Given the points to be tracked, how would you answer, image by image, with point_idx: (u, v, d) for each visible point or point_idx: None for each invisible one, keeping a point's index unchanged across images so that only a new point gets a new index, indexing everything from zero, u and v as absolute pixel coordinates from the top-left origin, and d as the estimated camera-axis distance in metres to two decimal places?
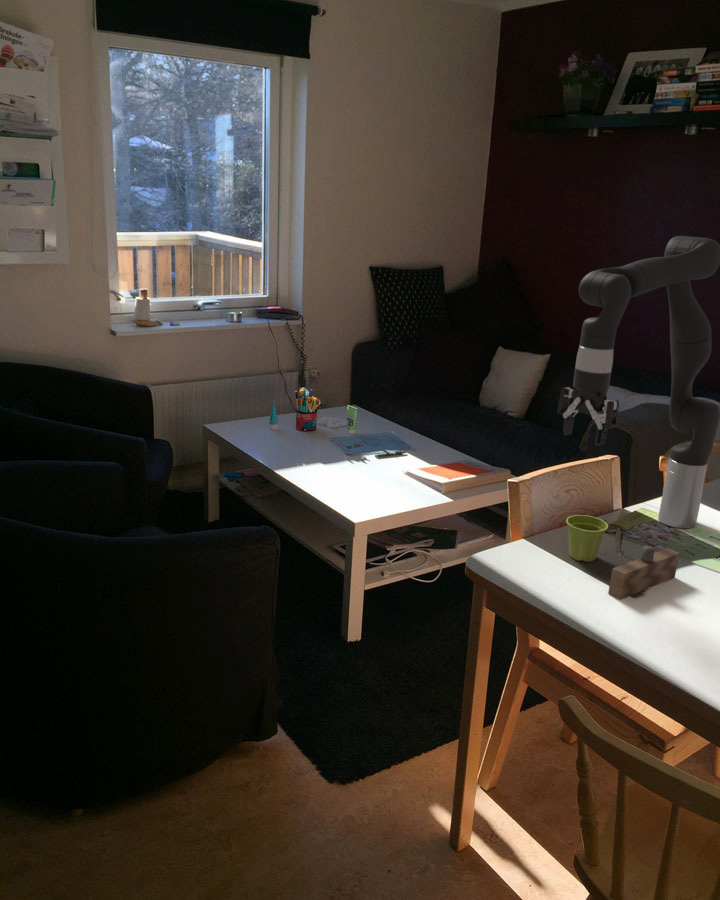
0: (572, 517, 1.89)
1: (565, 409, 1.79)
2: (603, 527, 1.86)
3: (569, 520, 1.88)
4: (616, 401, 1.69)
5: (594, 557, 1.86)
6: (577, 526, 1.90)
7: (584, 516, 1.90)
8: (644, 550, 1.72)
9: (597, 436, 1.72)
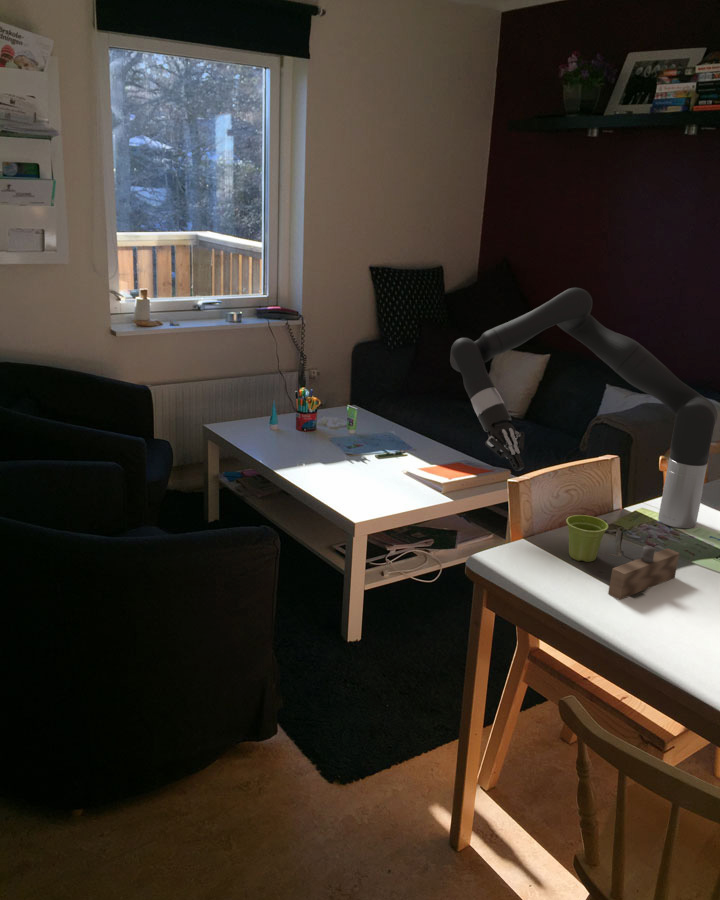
0: (572, 517, 1.89)
1: None
2: (603, 527, 1.86)
3: (569, 520, 1.88)
4: None
5: (594, 557, 1.86)
6: (577, 526, 1.90)
7: (584, 516, 1.90)
8: (644, 550, 1.72)
9: (520, 459, 2.00)
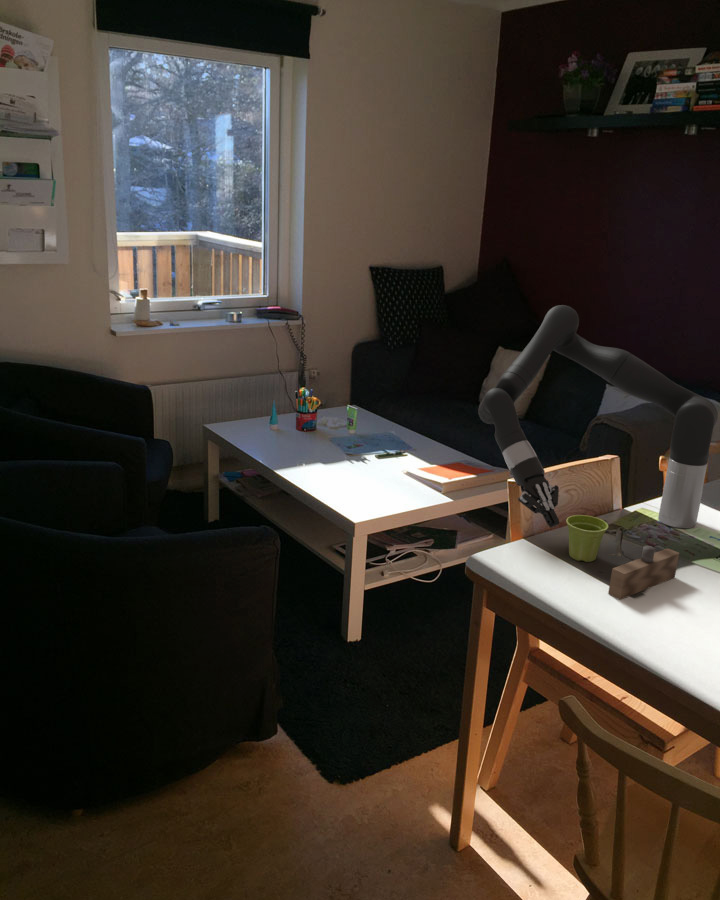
0: (572, 517, 1.89)
1: None
2: (603, 527, 1.86)
3: (569, 520, 1.88)
4: None
5: (594, 557, 1.86)
6: (577, 526, 1.90)
7: (584, 516, 1.90)
8: (644, 550, 1.72)
9: (555, 515, 1.94)
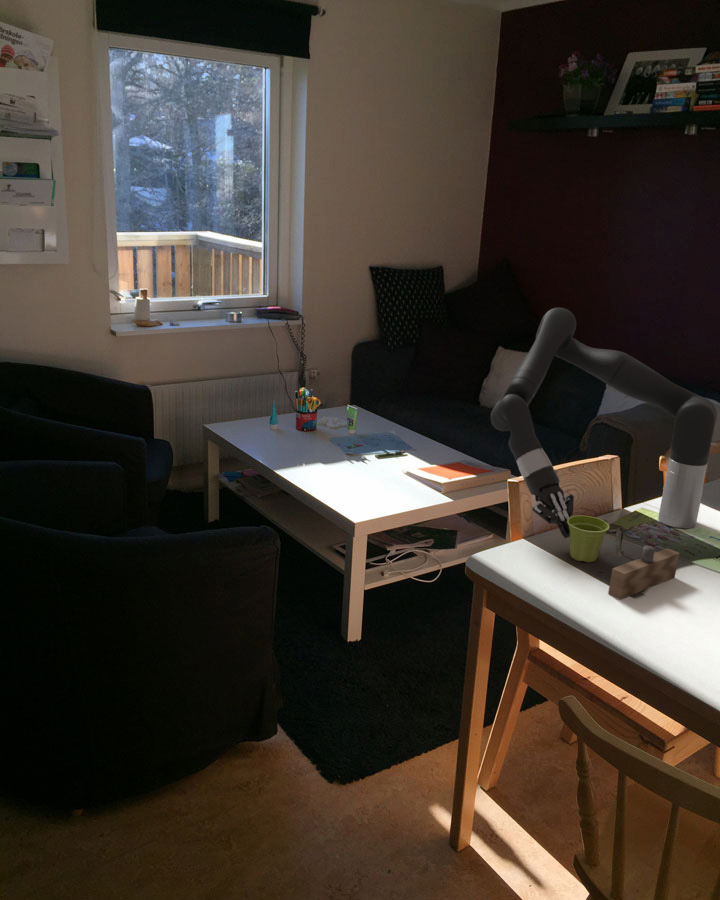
0: (573, 517, 1.88)
1: None
2: (604, 527, 1.86)
3: (570, 520, 1.88)
4: None
5: (595, 557, 1.85)
6: (578, 527, 1.89)
7: (585, 516, 1.89)
8: (644, 550, 1.72)
9: None
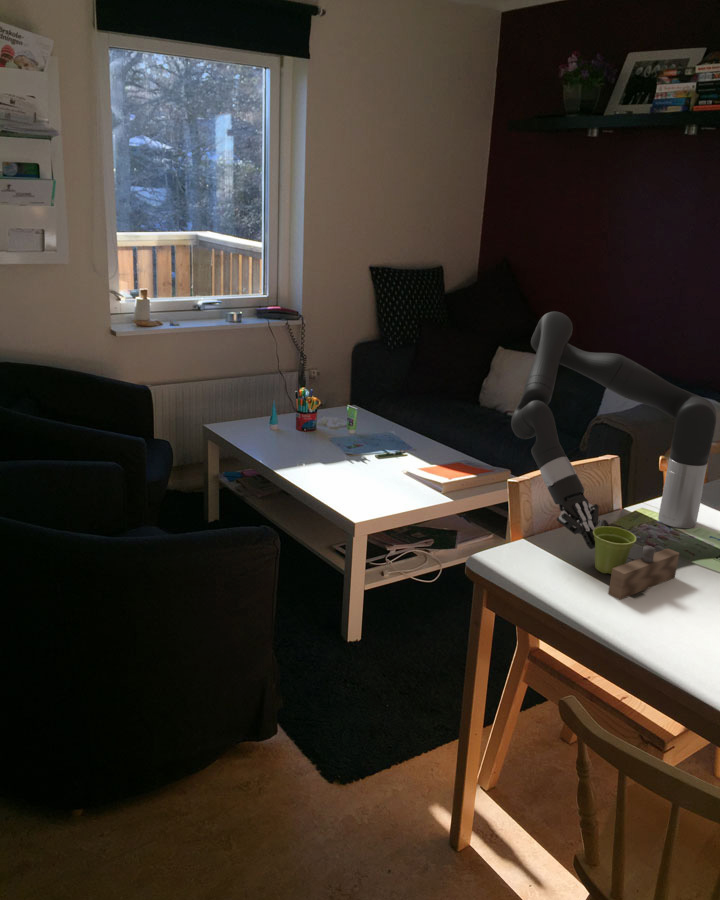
0: (599, 528, 1.83)
1: None
2: (631, 540, 1.80)
3: (596, 531, 1.82)
4: None
5: None
6: (604, 538, 1.84)
7: (612, 527, 1.84)
8: (644, 550, 1.72)
9: None
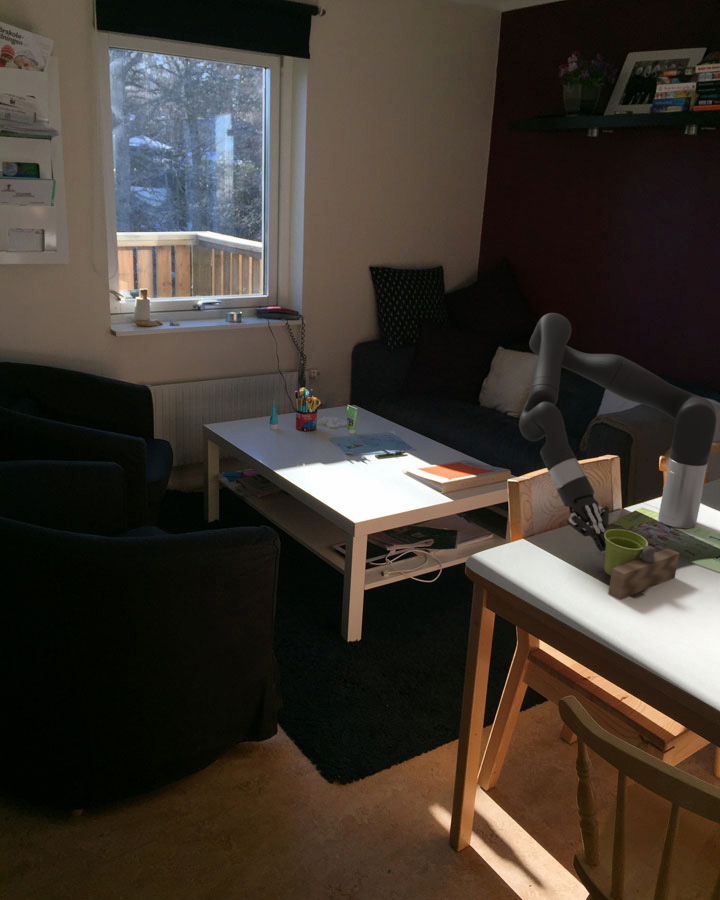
0: (610, 531, 1.81)
1: None
2: (642, 544, 1.78)
3: (607, 534, 1.80)
4: None
5: None
6: (615, 541, 1.82)
7: (623, 531, 1.81)
8: (644, 550, 1.72)
9: None
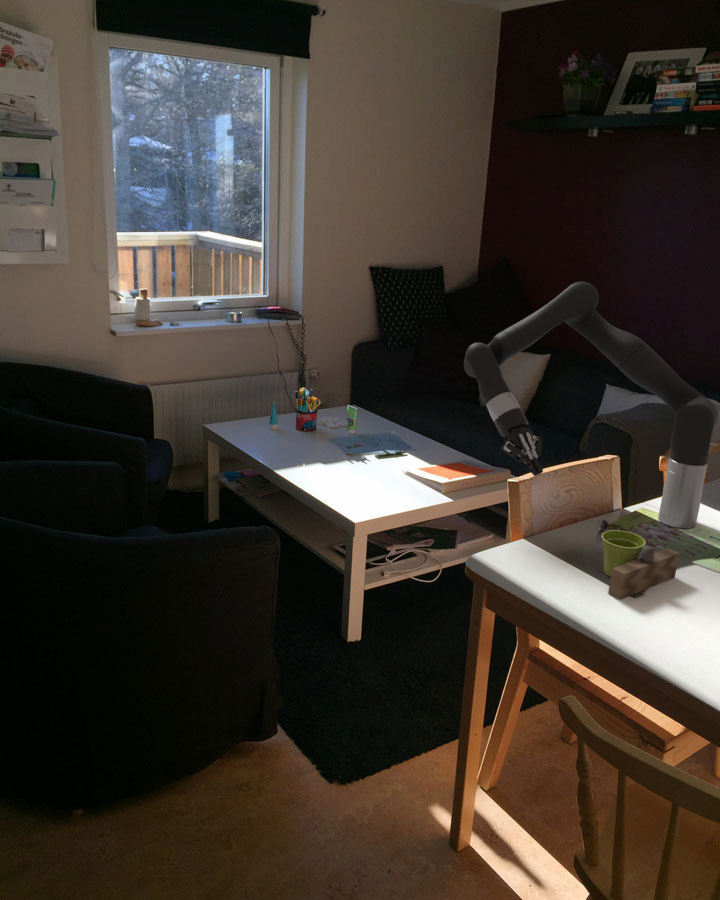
0: (608, 532, 1.81)
1: None
2: (640, 544, 1.78)
3: (605, 535, 1.81)
4: None
5: None
6: (613, 542, 1.82)
7: (621, 531, 1.82)
8: (644, 550, 1.72)
9: (539, 464, 1.97)
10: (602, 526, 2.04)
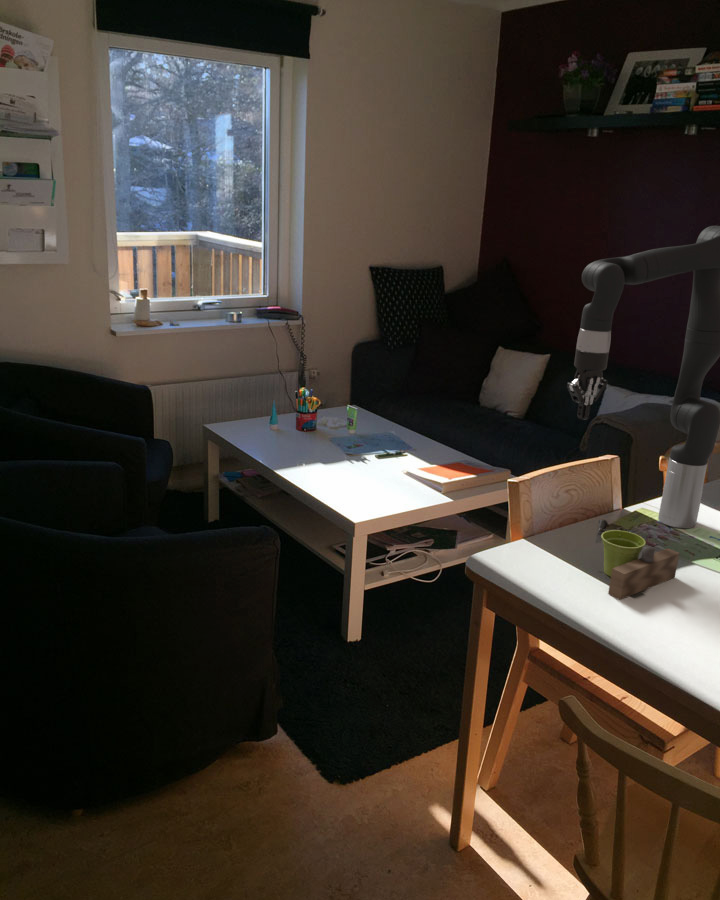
0: (608, 532, 1.81)
1: None
2: (640, 543, 1.78)
3: (604, 535, 1.81)
4: None
5: None
6: (613, 542, 1.82)
7: (621, 531, 1.82)
8: (644, 550, 1.72)
9: (588, 411, 1.93)
10: (602, 526, 2.04)
